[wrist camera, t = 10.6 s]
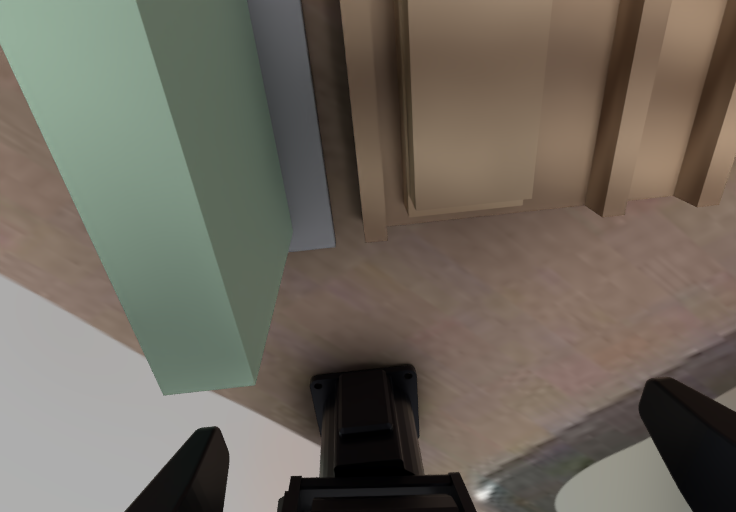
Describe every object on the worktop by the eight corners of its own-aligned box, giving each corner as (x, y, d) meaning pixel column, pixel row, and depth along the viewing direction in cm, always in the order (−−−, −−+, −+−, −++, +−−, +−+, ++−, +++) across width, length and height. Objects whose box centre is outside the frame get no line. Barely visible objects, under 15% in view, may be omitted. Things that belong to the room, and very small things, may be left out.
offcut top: (517, 186, 18) (531, 198, 16) (410, 197, 17) (416, 211, 16) (540, -81, 13) (562, -94, 12) (398, -67, 13) (405, -78, 12)
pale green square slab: (293, 231, 20) (255, 385, 11) (242, 237, 20) (163, 395, 11) (244, -13, 15) (111, -79, 6) (177, -6, 15) (-49, -63, 6)
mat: (335, 241, 21) (335, 246, 20) (209, 255, 21) (205, 261, 20) (294, -45, 15) (292, -48, 15) (120, -28, 15) (112, -30, 15)
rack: (678, 186, 21) (718, 204, 18) (363, 220, 21) (365, 242, 18) (766, -128, 15) (840, -156, 13) (330, -83, 15) (329, -104, 13)
